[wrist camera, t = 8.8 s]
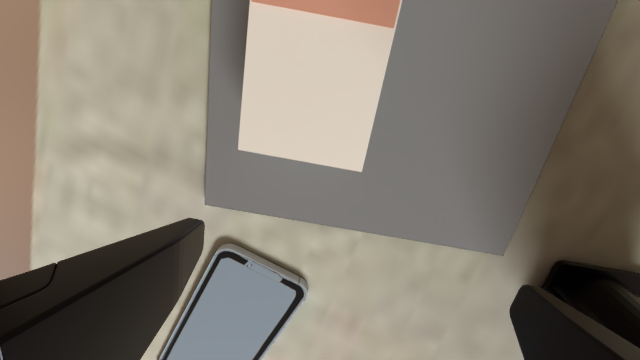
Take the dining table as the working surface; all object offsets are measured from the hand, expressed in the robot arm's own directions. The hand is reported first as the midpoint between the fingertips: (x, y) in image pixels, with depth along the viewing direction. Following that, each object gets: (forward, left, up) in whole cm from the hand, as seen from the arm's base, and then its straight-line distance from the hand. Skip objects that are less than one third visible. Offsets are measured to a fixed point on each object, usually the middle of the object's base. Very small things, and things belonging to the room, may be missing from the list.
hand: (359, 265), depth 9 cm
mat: (-1, -3, -12) cm, 12 cm away
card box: (+2, -5, -11) cm, 12 cm away
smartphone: (+7, +16, -12) cm, 21 cm away
